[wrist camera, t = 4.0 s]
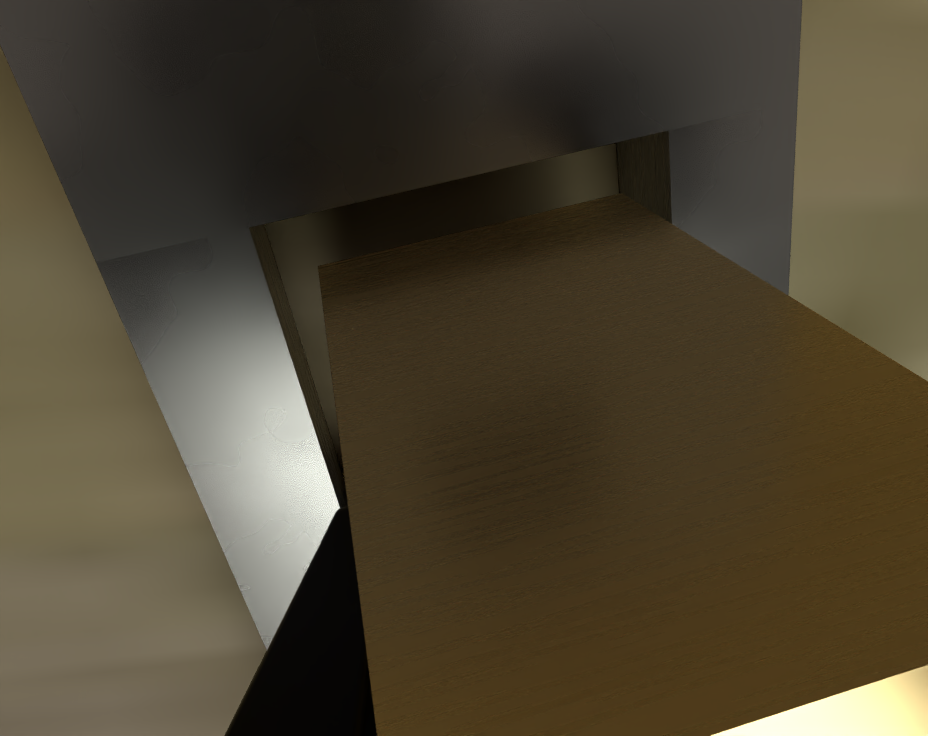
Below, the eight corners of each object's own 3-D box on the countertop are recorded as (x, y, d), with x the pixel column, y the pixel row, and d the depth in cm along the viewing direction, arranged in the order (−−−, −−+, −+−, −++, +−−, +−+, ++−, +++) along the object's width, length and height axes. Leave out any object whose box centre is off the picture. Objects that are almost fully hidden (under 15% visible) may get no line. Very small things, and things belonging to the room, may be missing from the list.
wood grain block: (622, 193, 11) (1228, 567, 4) (639, 443, 13) (1049, 970, 6) (318, 265, 10) (389, 840, 3) (389, 513, 13) (521, 1170, 6)
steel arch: (726, -512, 9) (836, -634, 7) (725, 620, 19) (772, 689, 17) (-128, -397, 8) (-247, -509, 6) (336, 741, 18) (343, 827, 16)
